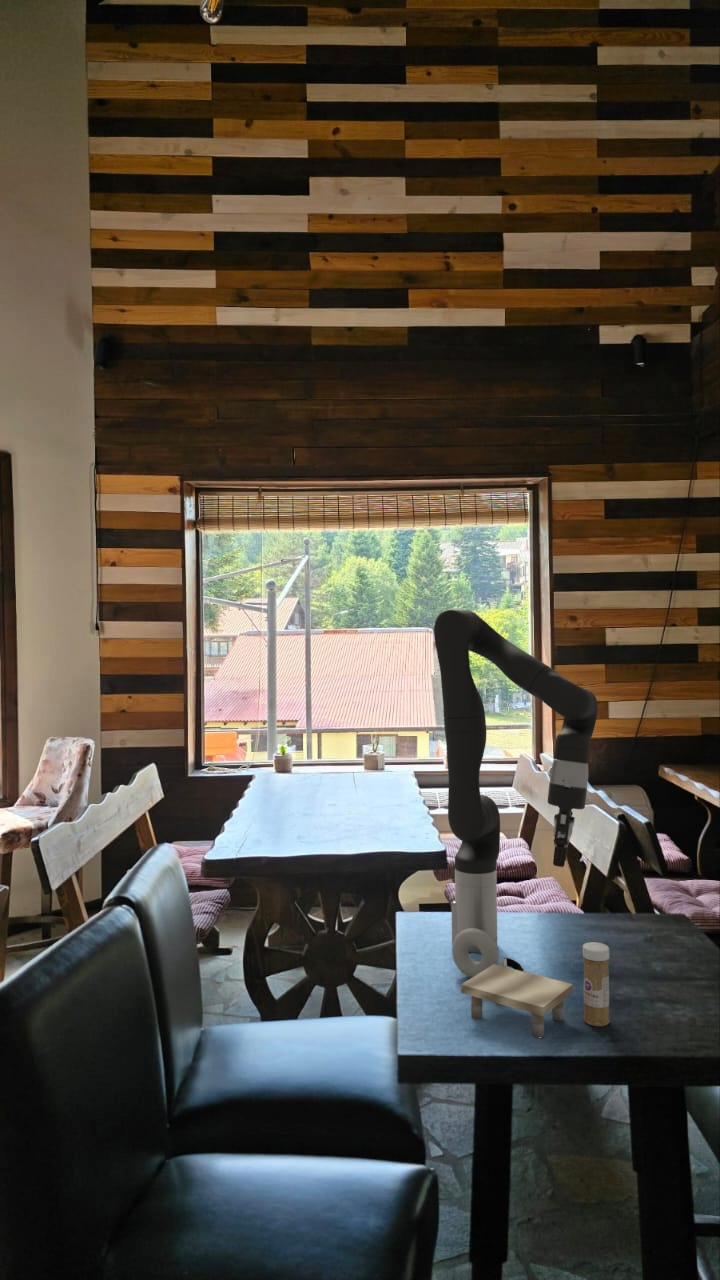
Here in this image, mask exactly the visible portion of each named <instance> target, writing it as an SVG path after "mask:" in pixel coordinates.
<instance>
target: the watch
mask: <svg viewBox="0 0 720 1280" xmlns="http://www.w3.org/2000/svg"><path fill="white" fill-rule="evenodd" d="M499 966H503V967H507V968H511V969H515V970H519V971H523V972H525V971H524V967H522V965H521V964H520V963H519V962H518V961H516V960H514V959H512V958H508V957H503V958H502V959H501V961H500V964H499Z"/></svg>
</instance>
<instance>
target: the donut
mask: <svg viewBox="0 0 720 1280" xmlns="http://www.w3.org/2000/svg"><path fill="white" fill-rule="evenodd" d="M470 946H476V947H477V948H479V950H480V951H481V953H480V954H481V960H480V961H475V960H474V959H472V956H470V953H469V952H468V950H469V947H470ZM451 952H452V953H451V954H452V959H453V961H454V963H455V966H456V967H457V969H458V970H459V972H460V973H462V974H463V975H464V976H465V977H468V978H469V979H471V978H472V977H474V976H476V975H477V974H479V973H480V972H482V971H484V970H485V969H487V968H488V967H490V966H492V965H493V964H495V965H499V961H500V960H499V959H500V955H499V949H498V946H497V947H496V944H495V942H494V941H493V939H492V938H491V937H490V936H489V935H488V934H487V933H485V932H484V931H482V930H479V929H476V928H468V929H466V930H463V931H461V932H460V933H459V934H458V935H457V936H456V938H455V940H454V942H453V945H452V948H451Z"/></svg>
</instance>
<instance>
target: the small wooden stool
mask: <svg viewBox="0 0 720 1280" xmlns="http://www.w3.org/2000/svg"><path fill="white" fill-rule="evenodd" d="M460 987H461V988H460V991H461V992H460V993H461V994H464V995H466V996H470V1007H471V1009H470V1012H471V1013H470V1014H471V1015H470V1016H471V1019H473V1020H482V1019H483V1014H484V1013H483V1000H484V1001H488V1002H492V1003H493V1004H496V1005H501V1006H506V1007H508V1008H513V1009H516V1010H519V1011H522V1012H526V1013H529V1014H530V1013H531V1036H532V1035H533V1036H534V1037H533V1036H532V1037H533V1038H535V1037H537V1038H536V1039H540V1038H539V1037H543V1036H544V1037H545V1016H546V1015H547V1014H548V1013H550V1012H551V1011H552V1012H551V1017H552V1020H553V1021H556V1022H563V1021H564V1020H565V1018H564V1017H565V1012H564V1009H565V1008H564V1007H565V1003H564V1001H565V1000H566V999H567V998H568V997H569V996H571V995H572V994H573V993H574V984H573V983H570V982H565V981H562V980H558V979H554V978H550V977H545V976H542V975H538V974H534V973H530V972H526V971H519V970H515V969H513V968H511V967H508V966H507V967H503V966H500V964H498V965H495V964H493V965H492V966H490V967H488V968H487V969H485V970H484V971H482V972H480V973H479V974H477V975H476V976H474V977H472V978H469V979H467V980H466V981H465V982H463V983H462V984H461V985H460ZM544 1037H543V1038H544Z"/></svg>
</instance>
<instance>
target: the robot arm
mask: <svg viewBox="0 0 720 1280" xmlns="http://www.w3.org/2000/svg"><path fill="white" fill-rule="evenodd" d="M433 638H434V643H435V650H436V655H437V660H438V666H439V672H440V673H439V674H440V684H441V696H442V704H443V723H444V724H443V725H444V734H445V744H446V759H447V760H446V761H447V770H448V771H447V772H448V799H447V801H448V802H447V818H448V819H447V820H448V824H449V828H450V830H451V832H452V834H453V835H454V836H455V837H456V838H457V839H458V840H460V841H461V845H460V847H459V849H458V851H457V852H456V854H455V857H454V899H455V900H453V901H452V902H451V945H452V946H453V942H454V940H455V938H456V936H457V935H458V934H459V933H460V932H461V931H463V930H466V929H468V928H476V929H479V930H482V931H484V932H485V933H487V934H488V935H489V936H490V937H491V938H492V939H493V941H494V942H495V944H496V947H497V948H498V897H497V896H498V895H497V894H498V892H497V889H498V887H497V883H498V882H497V862H498V858H499V856H500V850H501V849H500V848H501V847H500V845H501V841H500V840H501V816H500V810H499V808H498V806H497V804H496V802H495V800H493V799H492V798H491V797H489V796H487V795H485V794H481V787H480V772H481V765H482V761H483V757H484V754H485V753H484V752H485V749H486V743H487V723H486V721H487V720H486V712H485V706H484V703H483V700H482V697H481V694H480V692H479V690H478V688H477V686H476V683H475V681H474V677H473V675H472V671H471V666H470V652H472V653H475V654H476V655H479V656H481V657H483V658H484V659H486V660H488V661H489V662H491V663H492V664H494V665H495V666H496V667H497V668H498V669H499V671H501V673H503V674H504V675H505V677H506V678H507V679H509V680H510V681H511V682H513V684H515V685H517V687H519V688H521V689H522V690H524V691H525V692H527V693H528V694H530V695H532V696H533V697H535V698H536V699H539V700H540V701H542V702H543V703H544V705H546V706H548V707H549V708H550V709H552V710H553V711H554V712H556V713H557V714H559V715H560V716H561V717H563V721H562V724H561V725H562V726H561V731H560V732H559V733H558V734H557V736H556V739H555V743H554V750H553V752H554V753H553V760H552V765H551V768H550V774H549V775H550V777H549V785H548V794H547V804H548V805H551V806H556V807H558V808H559V810H558V813H557V814H556V813H555V814H554V816H553V817H554V818H553V824H554V825H553V833H552V835H553V836H554V839H553V845H554V851H553V852H554V853H553V861H552V864H553V866H555V867H559V868H563V867H565V864H566V861H567V856H568V849H569V848H568V847H569V843H570V840H571V839H572V836H573V835H572V834H573V827H574V826H575V820H576V819H575V818H576V817H575V816H573V810H584V809H585V808H586V802H587V800H586V799H587V794H588V793H587V791H588V784H589V783H588V782H589V761H590V751H591V740H592V737H593V734H594V730H595V726H596V722H597V718H598V710H599V709H598V708H599V707H598V706H599V705H598V704H599V703H598V700H597V697H596V695H595V694H594V693H593V692H592V691H591V690H589V689H586V688H584V687H582V686H579V685H577V684H576V683H574V682H572V681H570V680H568V679H567V678H565V677H563V676H561V675H560V674H559V673H558V672H557V671H556V670H555V669H554V668H553V667H550V666H549V665H547V664H546V663H544V662H543V661H541V660H539V659H538V658H536V657H534V656H533V655H531V654H529V653H528V652H526V651H524V650H522V649H521V648H519V647H518V646H516V645H515V644H514V643H512V642H511V641H509V640H508V639H506V638H505V637H504V636H502V635H501V634H500V633H498V632H497V630H495V629H494V628H493V627H492V626H491V625H489V624H488V623H487V622H486V621H485V620H484V619H483V618H482V617H481V616H479V615H478V614H477V613H476V612H474V611H473V610H468V609H457V608H455V609H454V608H450V609H445V610H443V611H441V612H440V613H439V614H438V616H437V617H436V619H435V621H434V627H433ZM468 952H470V953H478V954H479V953H480V954H482V953H481V951H480V950H479V948H477V947H476V946H470V947H469V950H468Z"/></svg>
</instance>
